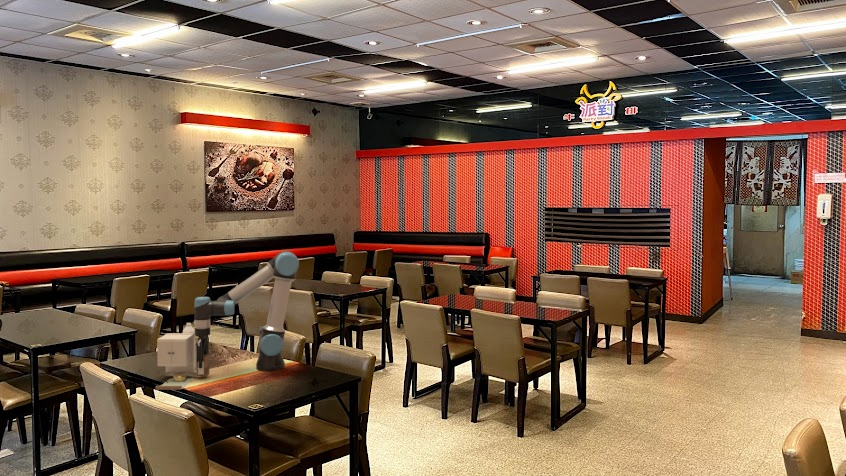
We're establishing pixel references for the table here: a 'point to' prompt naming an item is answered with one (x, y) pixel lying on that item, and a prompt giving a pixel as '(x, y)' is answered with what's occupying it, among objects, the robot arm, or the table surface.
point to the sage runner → (174, 384)
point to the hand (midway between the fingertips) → (202, 372)
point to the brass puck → (179, 378)
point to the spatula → (206, 369)
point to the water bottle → (190, 330)
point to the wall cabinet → (176, 352)
